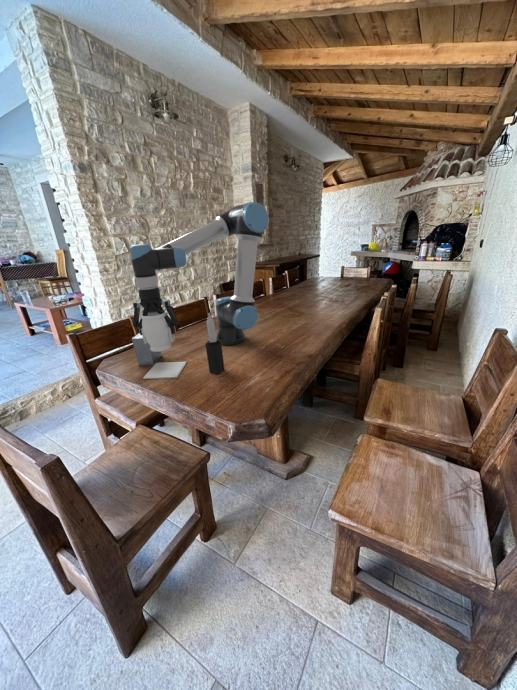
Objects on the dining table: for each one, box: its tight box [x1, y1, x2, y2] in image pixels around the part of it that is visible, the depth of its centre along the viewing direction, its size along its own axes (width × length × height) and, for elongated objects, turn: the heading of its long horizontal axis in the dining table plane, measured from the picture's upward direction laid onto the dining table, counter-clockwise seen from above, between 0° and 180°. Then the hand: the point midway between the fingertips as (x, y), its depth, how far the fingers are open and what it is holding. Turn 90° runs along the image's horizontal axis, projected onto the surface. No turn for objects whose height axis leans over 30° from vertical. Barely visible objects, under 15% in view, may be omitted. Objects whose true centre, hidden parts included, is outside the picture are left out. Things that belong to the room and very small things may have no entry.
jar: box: [139, 309, 172, 352], centre depth 111 cm, size 11×10×15 cm
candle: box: [204, 312, 225, 375], centre depth 110 cm, size 5×5×25 cm
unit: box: [131, 332, 163, 367], centre depth 127 cm, size 8×10×13 cm
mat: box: [142, 361, 188, 380], centre depth 118 cm, size 14×14×1 cm
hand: (159, 341), depth 113 cm, fingers closed on jar, 10 cm apart
